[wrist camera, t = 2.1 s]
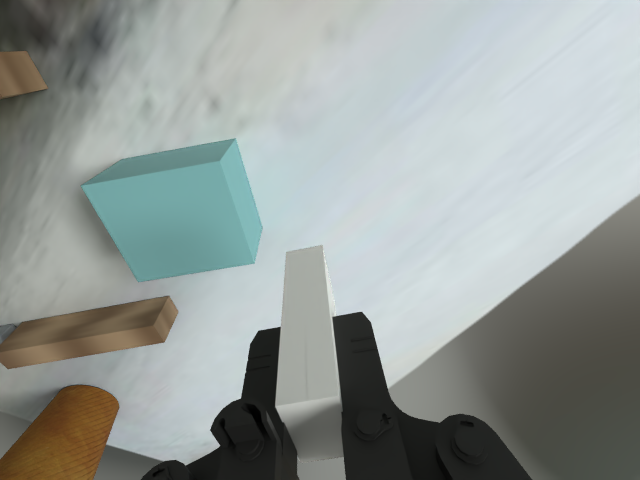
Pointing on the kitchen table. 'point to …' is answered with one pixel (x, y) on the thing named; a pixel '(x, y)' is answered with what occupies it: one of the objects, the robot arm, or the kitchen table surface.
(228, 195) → the teal block
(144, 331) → the wooden guide rails
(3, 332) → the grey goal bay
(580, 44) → the kitchen table surface
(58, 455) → the disposable coffee cup
